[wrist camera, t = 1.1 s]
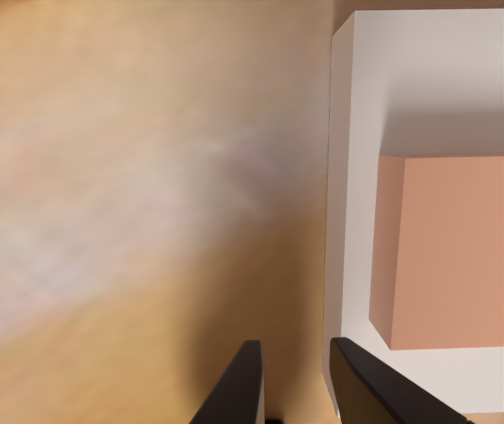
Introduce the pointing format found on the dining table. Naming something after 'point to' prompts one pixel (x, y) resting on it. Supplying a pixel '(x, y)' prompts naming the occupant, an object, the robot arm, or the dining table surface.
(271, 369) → the dining table surface
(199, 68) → the dining table surface
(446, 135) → the riser
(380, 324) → the tan wooden brick
